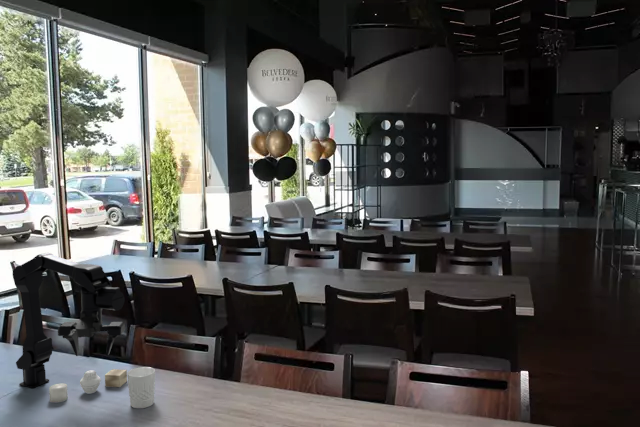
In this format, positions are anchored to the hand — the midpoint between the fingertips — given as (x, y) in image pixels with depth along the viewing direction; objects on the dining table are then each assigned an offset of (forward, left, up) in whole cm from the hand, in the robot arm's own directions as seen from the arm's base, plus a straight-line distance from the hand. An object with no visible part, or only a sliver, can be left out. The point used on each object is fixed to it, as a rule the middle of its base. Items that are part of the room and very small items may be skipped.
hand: (92, 355), depth 176 cm
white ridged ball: (-2, +1, -13) cm, 13 cm away
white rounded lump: (-7, -7, -13) cm, 16 cm away
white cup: (+19, 0, -13) cm, 23 cm away
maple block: (+1, +9, -13) cm, 15 cm away
